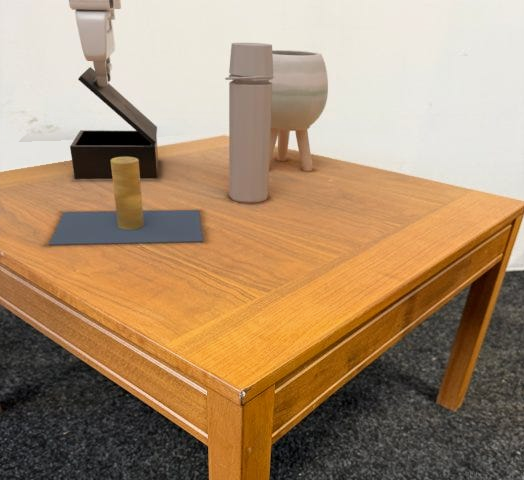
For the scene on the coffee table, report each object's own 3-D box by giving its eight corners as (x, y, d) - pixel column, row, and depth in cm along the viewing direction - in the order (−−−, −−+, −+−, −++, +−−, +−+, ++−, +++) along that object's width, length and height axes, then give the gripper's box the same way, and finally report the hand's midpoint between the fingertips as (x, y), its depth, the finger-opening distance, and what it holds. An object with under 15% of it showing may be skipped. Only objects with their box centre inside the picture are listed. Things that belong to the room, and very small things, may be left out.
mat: (49, 247, 79) (48, 244, 78) (64, 215, 90) (64, 211, 90) (203, 244, 82) (203, 240, 81) (198, 213, 93) (198, 209, 93)
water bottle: (277, 201, 100) (285, 45, 87) (243, 208, 96) (245, 46, 83) (247, 188, 106) (250, 41, 93) (213, 195, 102) (211, 41, 89)
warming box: (75, 183, 106) (69, 146, 102) (84, 163, 118) (80, 130, 114) (157, 182, 108) (155, 146, 104) (158, 163, 120) (156, 130, 116)
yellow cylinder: (116, 230, 84) (109, 163, 78) (118, 221, 87) (111, 156, 82) (143, 229, 84) (137, 163, 79) (144, 220, 88) (139, 156, 82)
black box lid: (77, 79, 96) (93, 58, 95) (87, 69, 109) (101, 50, 107) (153, 145, 104) (168, 126, 103) (154, 129, 116) (168, 112, 115)
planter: (277, 155, 130) (282, 47, 118) (334, 168, 122) (346, 54, 109) (232, 167, 119) (232, 50, 107) (291, 183, 111) (299, 58, 99)
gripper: (83, -5, 104) (93, 76, 112) (67, -4, 88) (80, 91, 95) (117, -4, 105) (125, 76, 113) (107, -3, 88) (117, 91, 96)
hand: (104, 83), depth 104 cm, fingers closed on black box lid, 5 cm apart
